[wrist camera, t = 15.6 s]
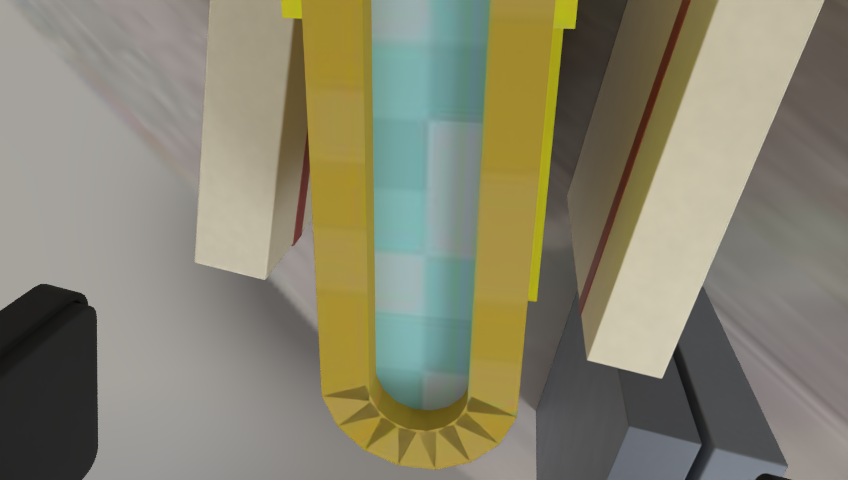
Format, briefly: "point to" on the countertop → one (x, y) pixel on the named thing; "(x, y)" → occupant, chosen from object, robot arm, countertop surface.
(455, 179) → the book
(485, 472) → the countertop surface
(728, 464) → the grey book
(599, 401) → the grey book
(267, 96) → the cream panel
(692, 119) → the cream book
